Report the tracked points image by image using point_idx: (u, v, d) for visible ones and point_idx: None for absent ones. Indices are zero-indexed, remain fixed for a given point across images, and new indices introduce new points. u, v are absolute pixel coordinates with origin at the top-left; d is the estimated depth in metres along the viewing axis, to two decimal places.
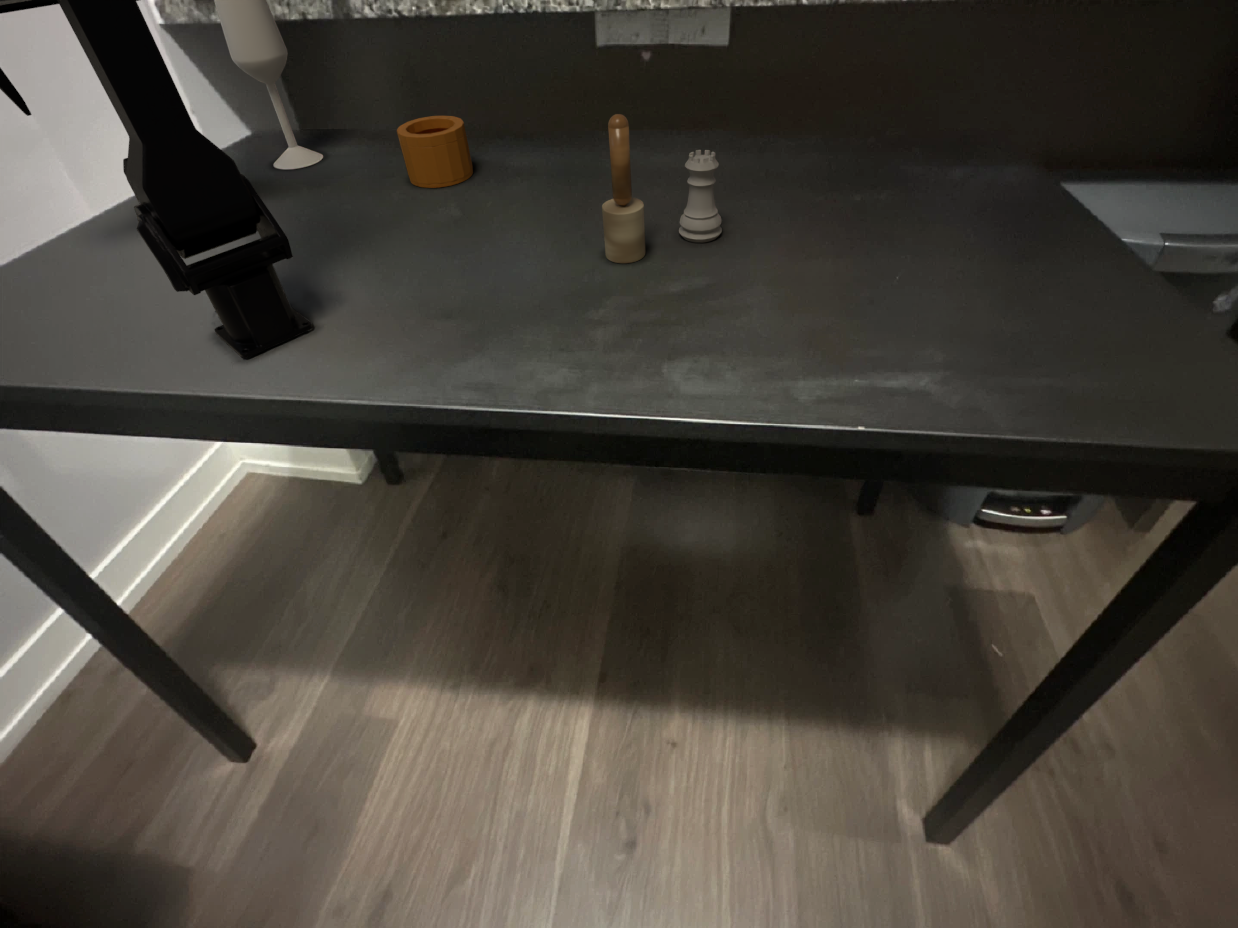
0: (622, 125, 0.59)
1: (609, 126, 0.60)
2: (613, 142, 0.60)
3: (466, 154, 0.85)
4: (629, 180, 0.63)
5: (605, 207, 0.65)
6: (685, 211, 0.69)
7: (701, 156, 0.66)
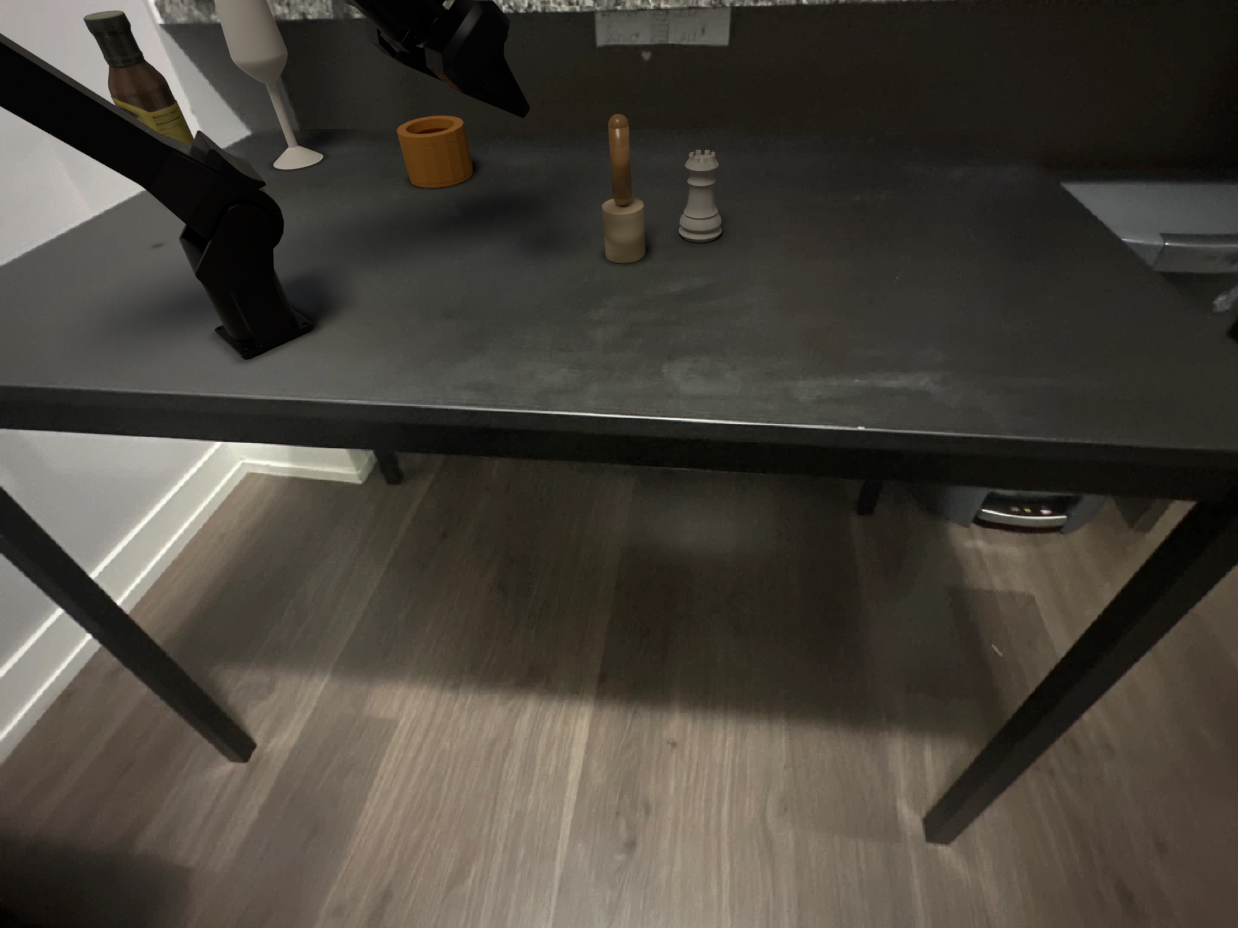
0: (622, 125, 0.59)
1: (609, 126, 0.60)
2: (613, 142, 0.60)
3: (466, 154, 0.85)
4: (629, 180, 0.63)
5: (605, 207, 0.65)
6: (685, 211, 0.69)
7: (701, 156, 0.66)
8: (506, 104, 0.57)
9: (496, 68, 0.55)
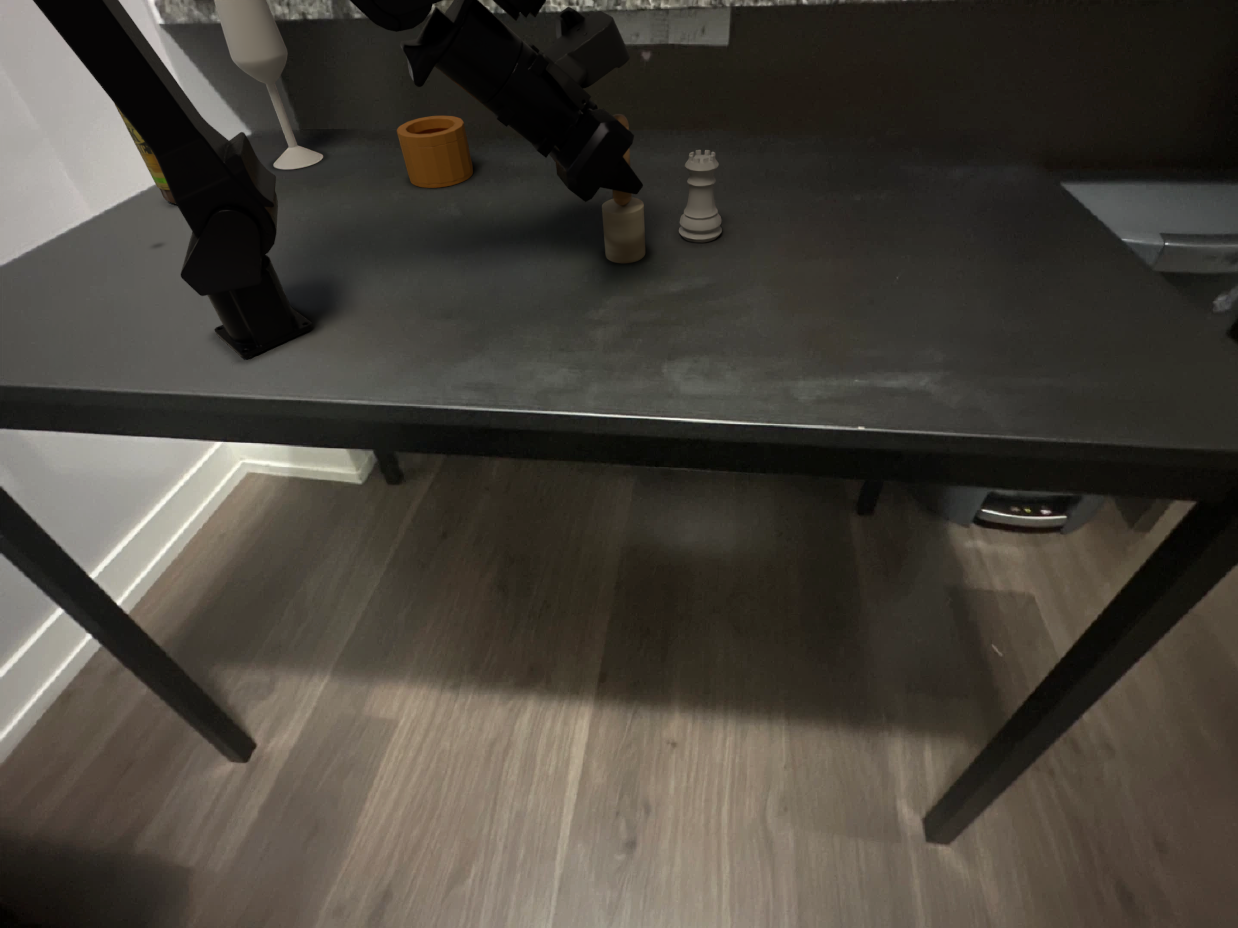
0: None
1: None
2: None
3: (466, 154, 0.85)
4: None
5: (605, 207, 0.65)
6: (685, 211, 0.69)
7: (701, 156, 0.66)
8: (619, 185, 0.62)
9: None
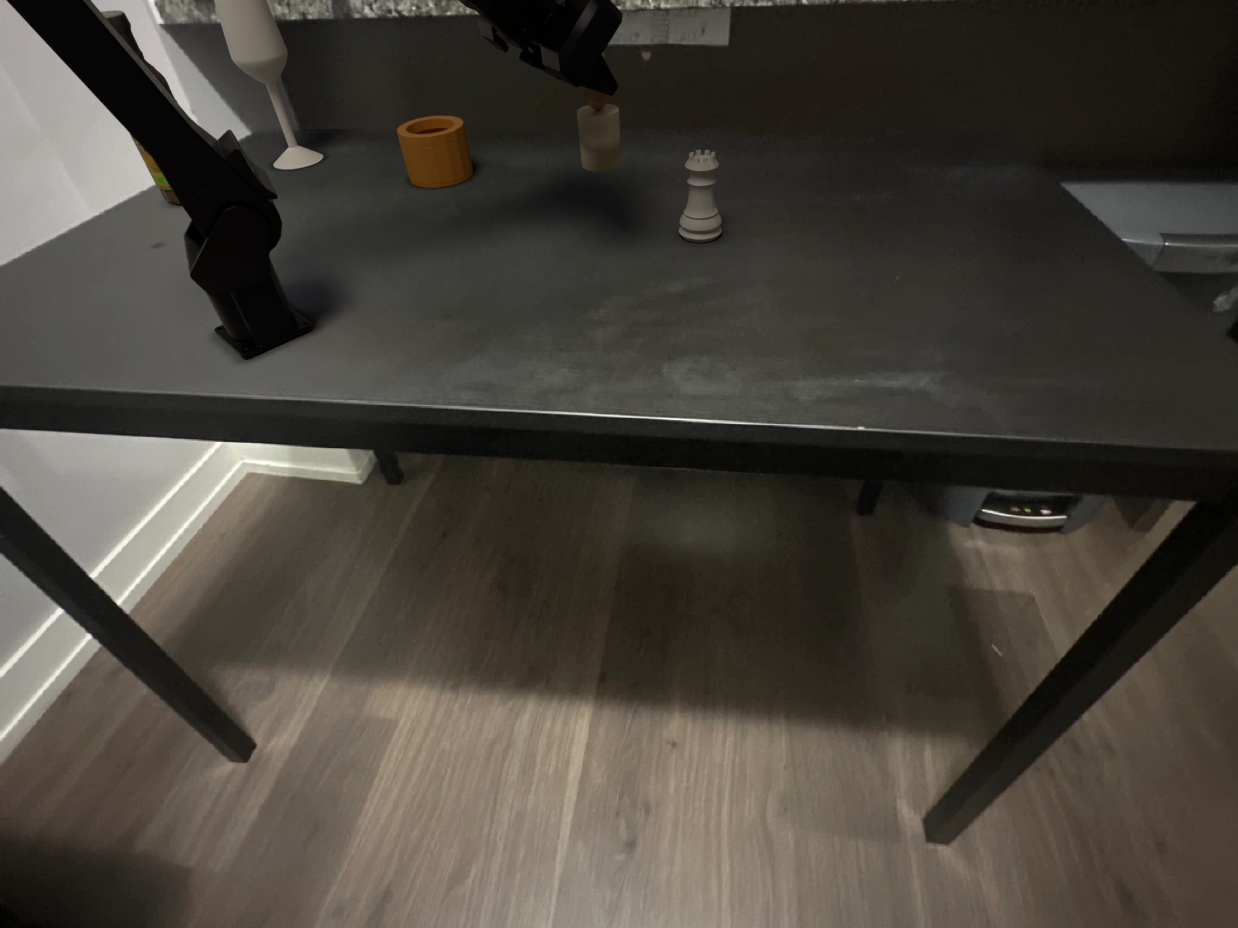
0: None
1: None
2: None
3: (466, 154, 0.85)
4: None
5: (581, 112, 0.64)
6: (685, 211, 0.69)
7: (701, 156, 0.66)
8: (596, 84, 0.61)
9: None
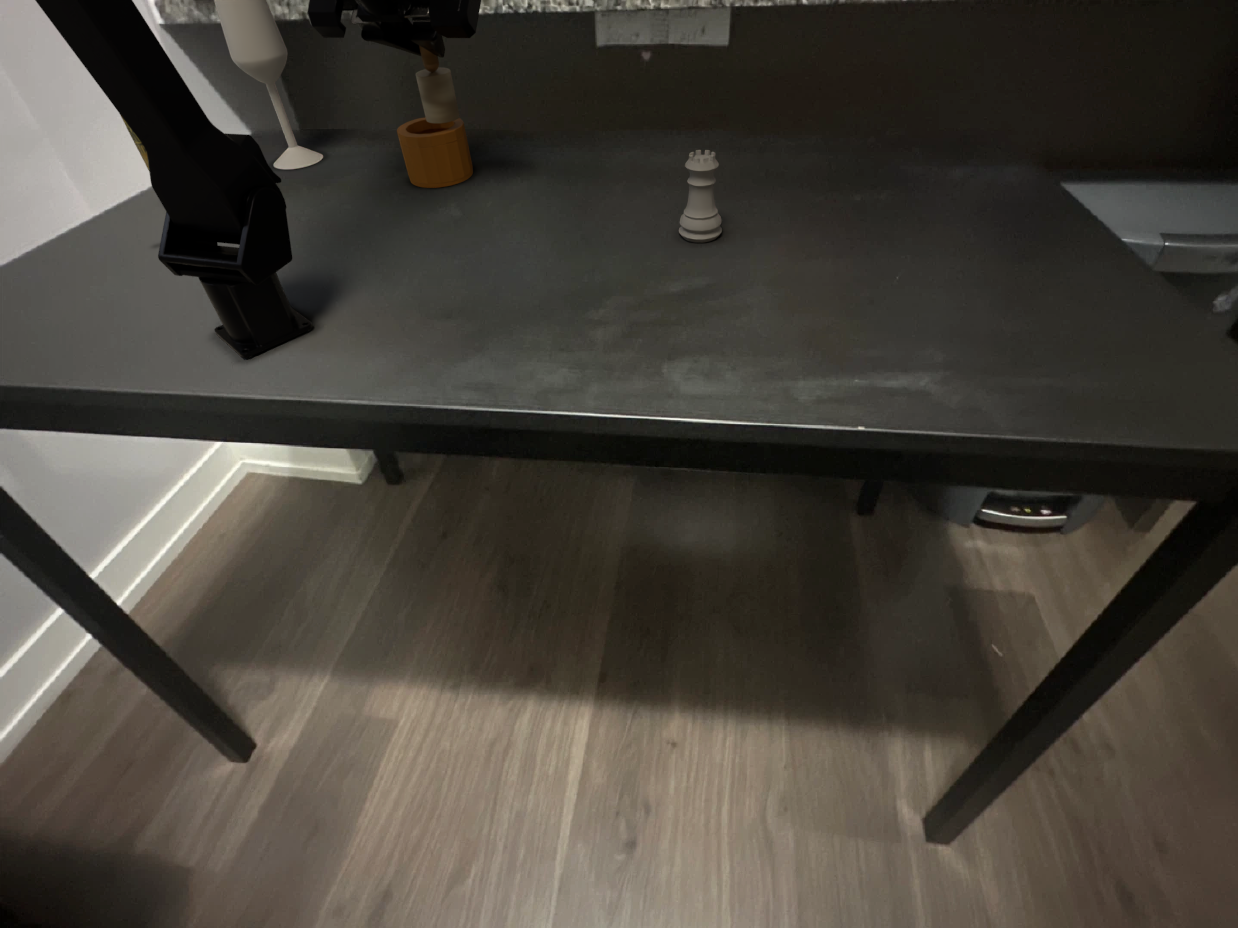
0: None
1: None
2: None
3: (466, 154, 0.85)
4: None
5: (423, 75, 0.78)
6: (685, 211, 0.69)
7: (701, 156, 0.66)
8: (438, 47, 0.76)
9: None
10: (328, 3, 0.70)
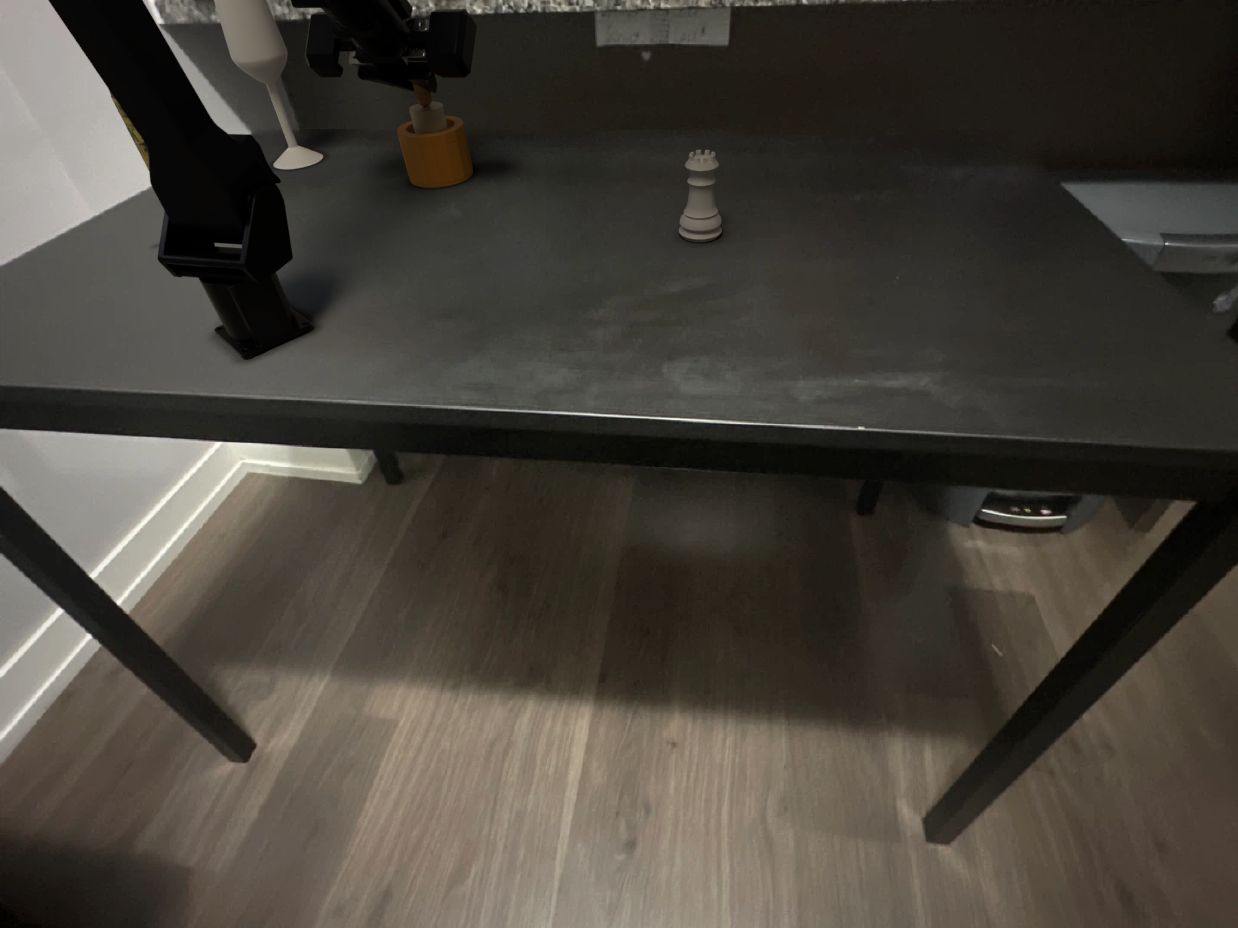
0: None
1: None
2: None
3: (466, 154, 0.85)
4: None
5: (417, 110, 0.81)
6: (685, 211, 0.69)
7: (701, 156, 0.66)
8: (431, 84, 0.79)
9: None
10: (326, 45, 0.73)
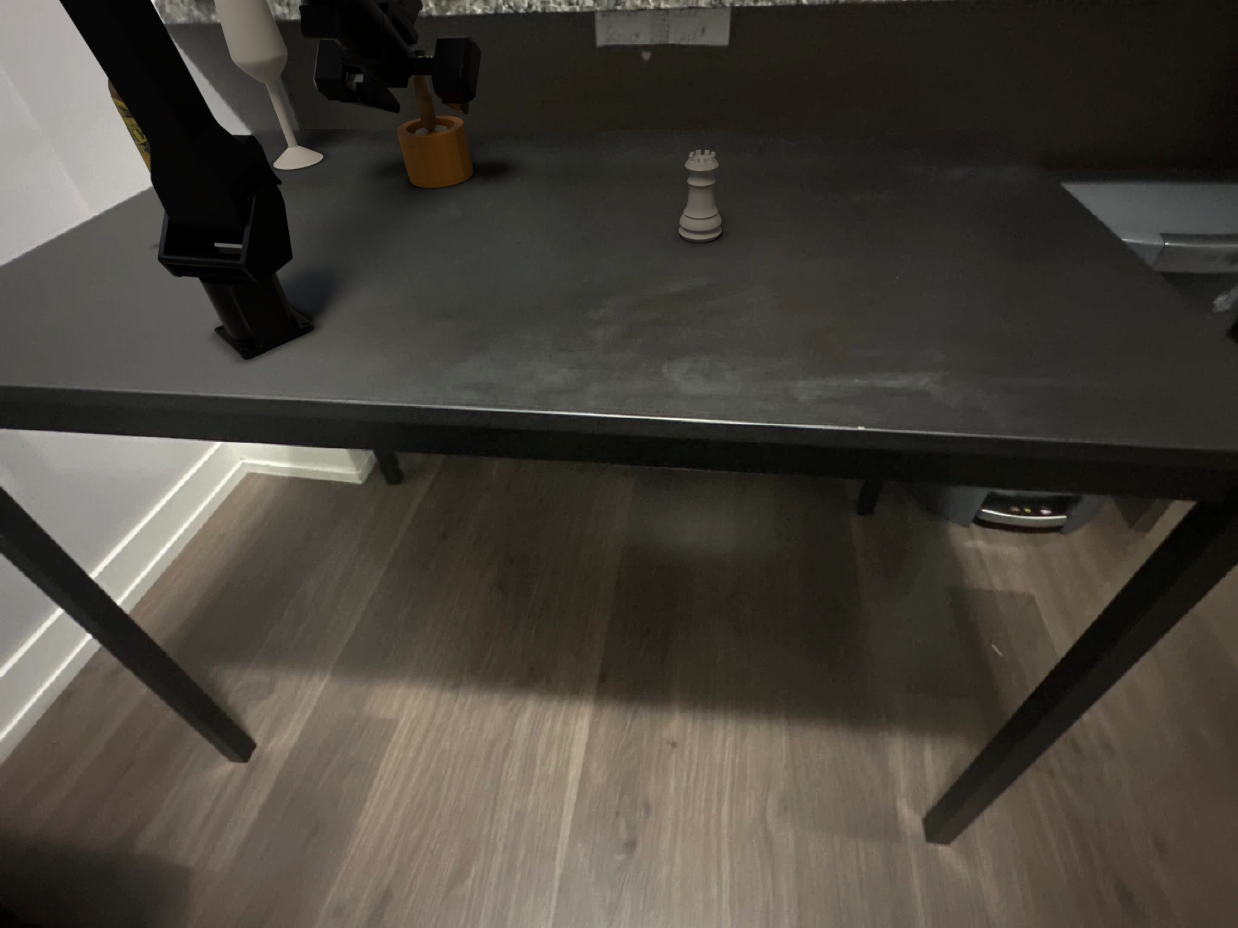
0: None
1: None
2: (420, 77, 0.79)
3: (466, 154, 0.85)
4: (433, 107, 0.82)
5: None
6: (685, 211, 0.69)
7: (701, 156, 0.66)
8: (464, 106, 0.80)
9: None
10: (334, 70, 0.75)
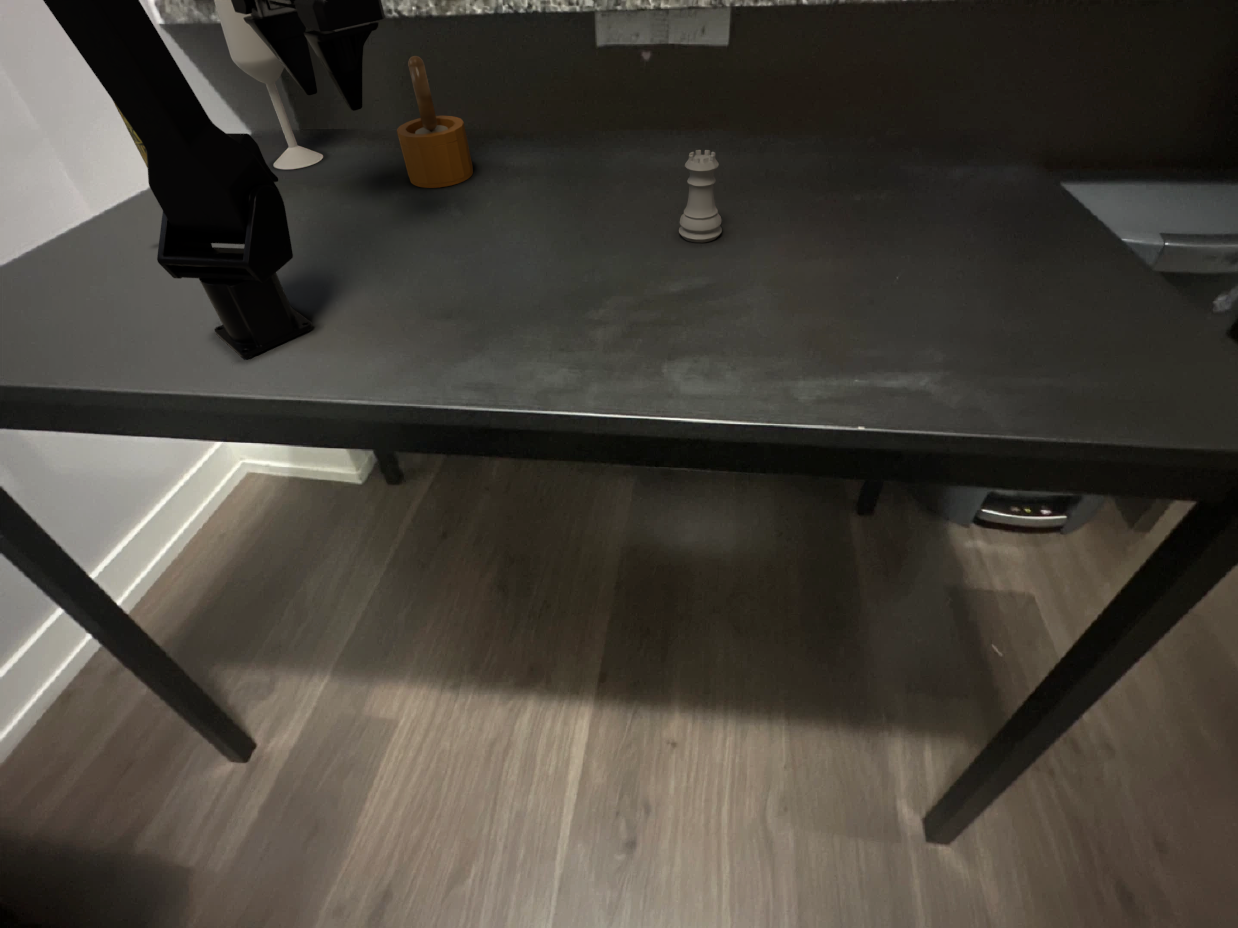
0: (422, 62, 0.79)
1: (413, 66, 0.78)
2: (420, 77, 0.79)
3: (466, 154, 0.85)
4: (433, 107, 0.82)
5: None
6: (685, 211, 0.69)
7: (701, 156, 0.66)
8: (345, 85, 0.63)
9: (351, 51, 0.62)
10: None
